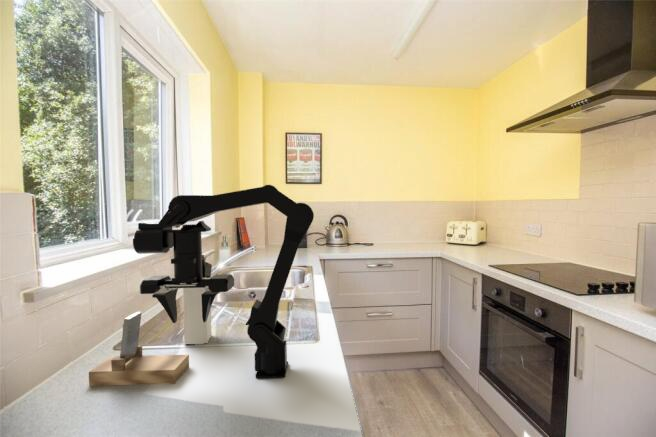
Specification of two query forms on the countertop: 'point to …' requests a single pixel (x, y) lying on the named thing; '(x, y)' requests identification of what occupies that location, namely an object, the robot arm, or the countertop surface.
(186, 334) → the milk
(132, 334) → the lever cap
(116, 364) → the body
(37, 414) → the countertop surface
